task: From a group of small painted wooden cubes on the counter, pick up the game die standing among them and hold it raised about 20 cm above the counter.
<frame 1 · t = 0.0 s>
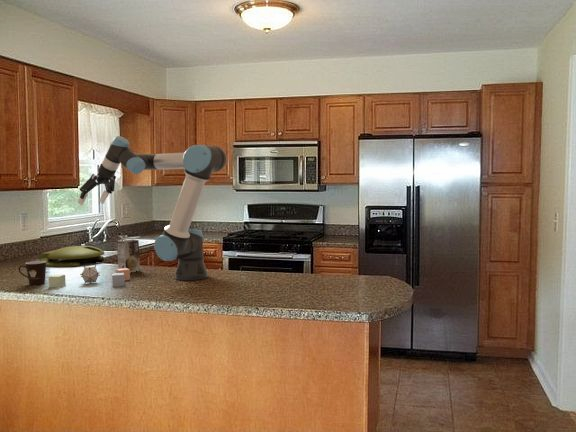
hand: (90, 203, 259), 36 cm above the counter, tool tilted 35°, fingers open, 13 cm apart
coffee box: (129, 272, 274), on the counter
terracotta cube: (123, 279, 253), on the counter
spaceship: (73, 263, 309), on the counter
coffee mug: (34, 284, 246), on the counter
game die: (90, 283, 245), on the counter
sage cube: (57, 286, 239), on the counter
slate cube: (118, 285, 240), on the counter
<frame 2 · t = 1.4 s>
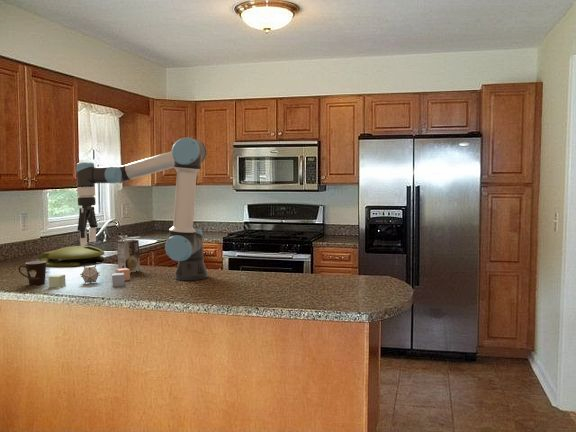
hand: (88, 243, 244), 18 cm above the counter, tool pointing down, fingers open, 13 cm apart
nothing on the counter moved.
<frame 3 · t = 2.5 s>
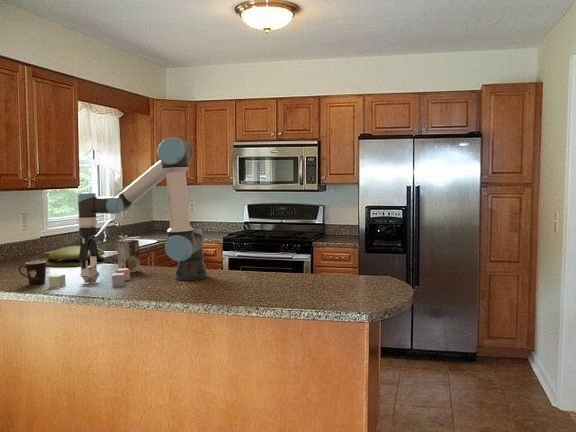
hand: (89, 273, 245), 5 cm above the counter, tool pointing down, fingers open, 13 cm apart
nothing on the counter moved.
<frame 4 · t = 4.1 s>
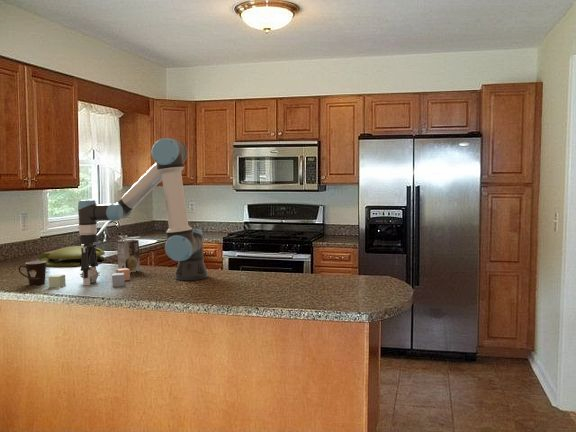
hand: (90, 282, 245), 0 cm above the counter, tool pointing down, fingers closed on game die, 9 cm apart
game die: (90, 283, 245), on the counter, touching gripper
everything else where it was.
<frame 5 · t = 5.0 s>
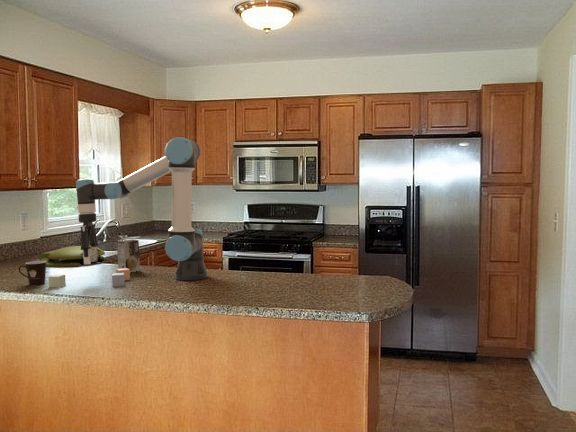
hand: (90, 262, 244), 10 cm above the counter, tool pointing down, fingers closed on game die, 9 cm apart
game die: (90, 263, 244), point 9 cm above the counter, touching gripper
everything else where it was.
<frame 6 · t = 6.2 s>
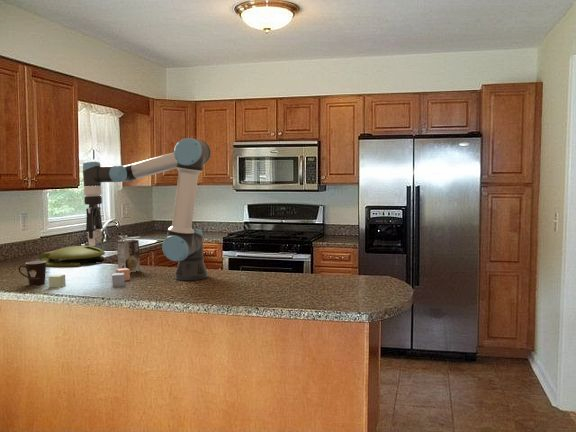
hand: (95, 244, 247), 17 cm above the counter, tool pointing down, fingers closed on game die, 9 cm apart
game die: (95, 245, 247), point 17 cm above the counter, touching gripper
everything else where it was.
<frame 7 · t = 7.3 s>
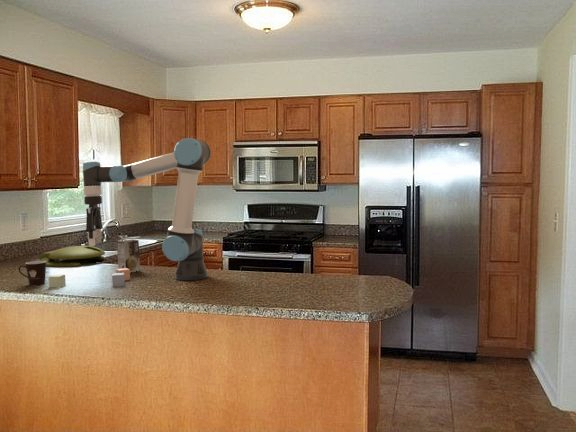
hand: (95, 244, 247), 17 cm above the counter, tool pointing down, fingers closed on game die, 9 cm apart
game die: (95, 245, 247), point 17 cm above the counter, touching gripper
everything else where it was.
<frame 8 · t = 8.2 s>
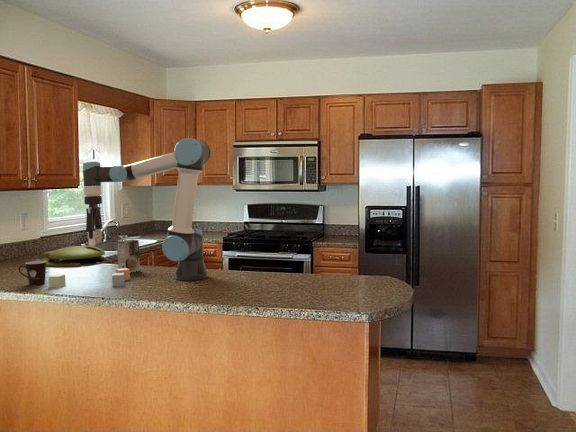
hand: (95, 244, 247), 17 cm above the counter, tool pointing down, fingers closed on game die, 9 cm apart
game die: (95, 245, 247), point 17 cm above the counter, touching gripper
everything else where it was.
at the end: the gripper is holding game die; game die point 17.0 cm above the counter; slate cube moved 0.1 cm from its start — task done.
